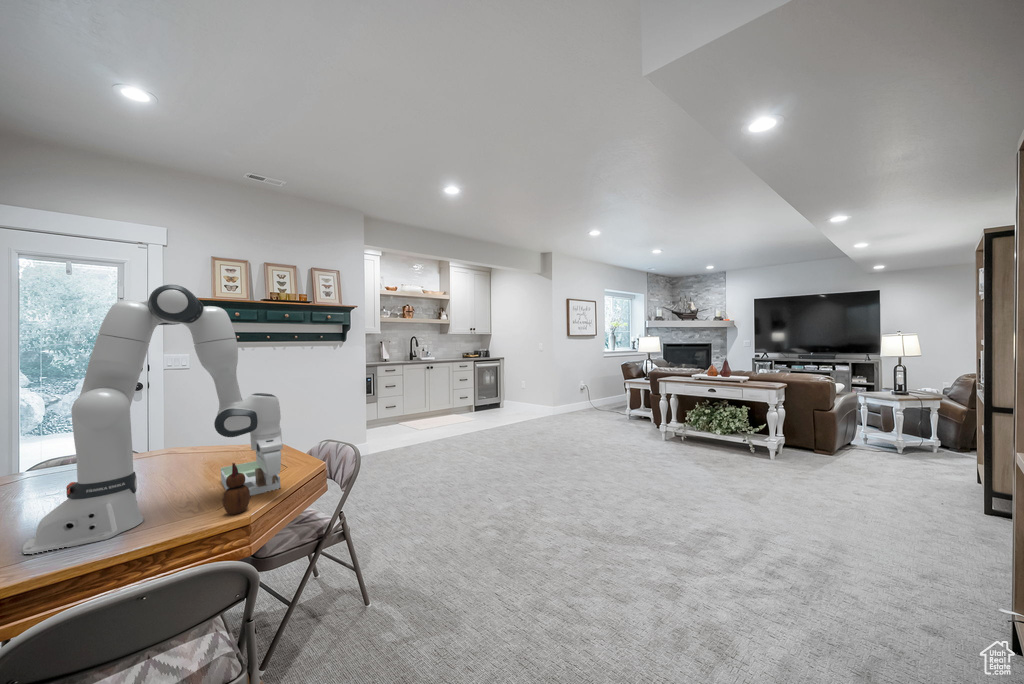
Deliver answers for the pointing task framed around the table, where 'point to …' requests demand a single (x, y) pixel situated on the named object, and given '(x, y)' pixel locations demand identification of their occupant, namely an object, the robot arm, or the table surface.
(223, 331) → the robot arm
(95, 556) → the table surface
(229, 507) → the wooden figurine
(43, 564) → the table surface
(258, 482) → the walnut block
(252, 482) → the box
